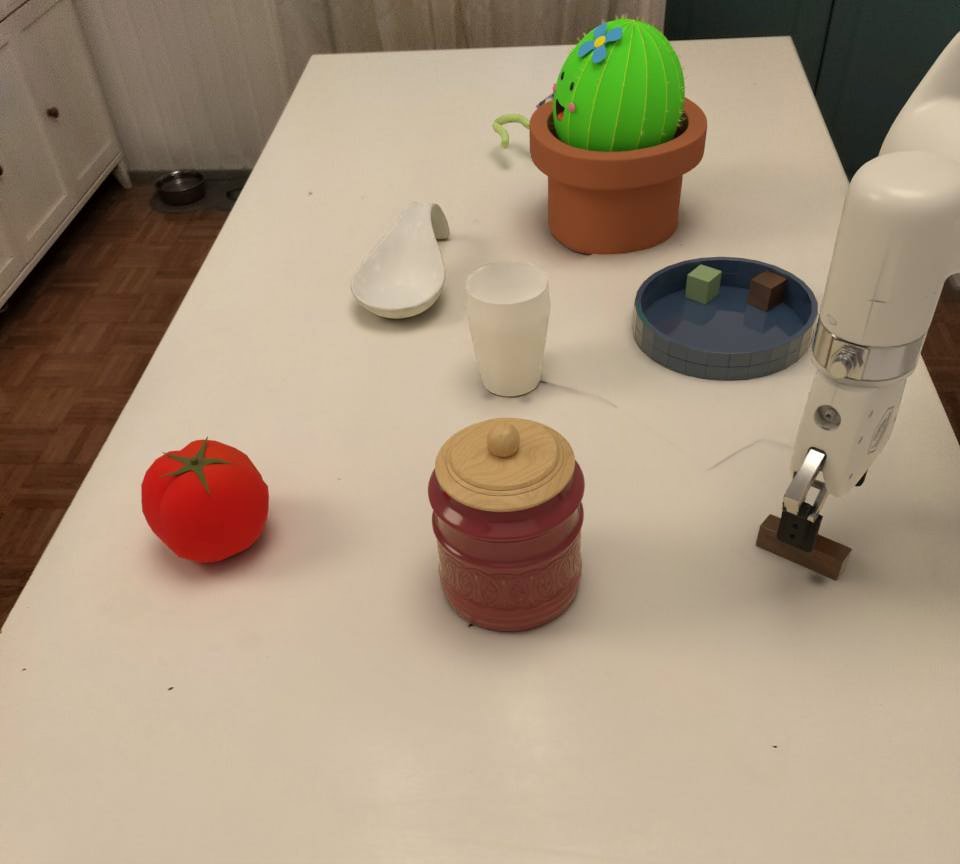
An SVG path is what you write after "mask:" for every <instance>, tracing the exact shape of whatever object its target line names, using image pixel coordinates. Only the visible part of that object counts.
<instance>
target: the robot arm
mask: <svg viewBox="0 0 960 864" xmlns="http://www.w3.org/2000/svg"><path fill="white" fill-rule="evenodd" d="M897 114H898V115H896V118H895V119H894V122H893V123H892V124H891V126H890V128H889V130H888V132H887V133H886V136H885V137H884V140H883V142H882V144H881V148H880V150H879V152H878V155H877V156H876V157H874V158H872V159H871V160H869V161H867V162H865V163H864V164H863V165H861V166H860V168H859V169H857V170H856V172H855V174H854V175H853V177H852V178H851V181H850V182H849V183H848V187H847V190H846V193H845V194H846V195H845V198H844V201H843V206H842V211H841V215H840V219H839V224H838V229H837V233H836V238H835V242H834V247H833V251H832V255H831V260H830V265H829V269H828V274H827V279H826V283H825V287H824V291H823V296H822V300H821V304H820V309H819V312H818V317H817V321H816V325H815V326H816V327H815V330H814V334H813V340H812V344H811V349H810V359H811V362H812V365H813V366H814V367H815V369H816V371H815V374H814V376H813V380H812V383H811V386H810V388H809V391H808V394H807V398H806V402H805V405H804V409H803V412H802V415H801V419H800V422H799V426H798V430H797V433H796V437H795V441H794V444H793V449H792V454H791V457H790V458H791V459H790V463H789V476H790V478H791V479H792V480H791V482H790V483H789V485H788V487H787V489H786V491H785V493H784V494H783V498H782V500H783V501H782V503H781V515H780V518H781V519H780V523H779V527H778V532H777V539H778V540H779V541H782V542H784V543H786V544H789V545H791V546H793V547H796V548H798V549H800V550H803V551H805V552H811V551H812V550H813V548H814V546H815V543H816V539H817V536H818V534H819V532H820V528H821V525H822V521H823V517H824V515H822V514H820V513H821V511H822V509H823V507H824V505H825V503H826V501H827V499H828V497H829V495H831V496H833V497H835V498H841V497H844V496H846V495H848V494H849V493H850V492H851V491H852V490H853V489H854V487H861V486H862V485H863V483H864V482H865V480H866V477H867V474H868V471H869V468H871V466H872V464H873V463H874V462H875V460H876V459H877V458H878V457H879V455H880V454H881V453H882V451H883V450H884V448H885V447H886V446H887V444H888V442H889V440H890V438H891V436H892V433H893V430H894V427H895V424H896V421H897V417H898V413H899V410H900V406H901V402H902V398H903V394H904V391H905V387H906V383H907V381H908V378H909V377H911V375H912V374H913V373H914V372H915V370H916V369H917V366H918V363H919V359H920V357H921V354H922V350H923V347H924V344H925V341H926V338H927V336H928V332H929V331H930V330H929V329H930V327H931V324H932V321H933V318H934V315H935V312H936V309H937V306H938V302H939V300H940V297H941V294H942V291H943V288H944V284H945V282H946V281H947V279H948V278H949V277H950V276H952V275H955V274H960V30H959V31H958V32H957V33H956V34H955V36H954V37H953V38H952V39H951V40H950V42H949V43H947V45H946V47H944V49H943V51H942V52H941V53H939V55H938V57H937V58H936V60H935V61H934V63H933V64H932V65H931V66H930V67H929V69H928V70H927V72H926V73H925V75H924V76H923V78H922V80H921V81H920V82H919V83H918V85H917V86H916V87H915V89H914V91H912V93H911V95H910V97H909V98H908V99H907V101H906V102H905V104H904V106H903V107H902V108H901V110H900V111H899V113H897ZM820 472H821V473H822V477H823V481H821V480H819V479H816V478H817V477H818V476H819V473H820ZM811 487H812V488H814V489H816V490H819V492H818V494H817V496H816V498H815V500H814V502H813V504H810V503H809V502H807V501H806V500H807V495H808V493H809V491H810V489H811Z"/></svg>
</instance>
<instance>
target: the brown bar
mask: <svg viewBox="0 0 960 864" xmlns="http://www.w3.org/2000/svg"><path fill="white" fill-rule="evenodd" d="M780 519H781V517H779V516H777V515H774V514H772V513H769V514H768V515H767V516H766V518H765V519H764V520H763V521H762V522H761V524H760V525H759V527H758V532H757V536H756V539H755V546H757V547H760V548H761V549H763V550H766V551H769V552H771V553H773V554H774V555H778V556H780V557H782V558H784V559H786V560H789V561H791V562H794V563H796V564H797V565H800V566H803V567H805V568H806V569H809V570H812V571H813V572H816V573H818V574H821V575H823V576H825V577H827V578H830V579H832V580H834V581H837V580H838V579H839V578H840V577H841V575H842V574H843V572H844V571H845V570H846V569H847V565H848V563H849V560H850V557H851V554H852V551H853V548H852V547H850V546H847V545H845V544H844V543H841V542H838V541H836V540H833V539H831V538H828V537H826V536H824V535H822V534H819V533H818V536H817V539H816V543H815V546H814V548H813V550H812V551H811V552H805V551H803V550H800V549H798V548H796V547H793V546H791V545H789V544H786V543H784V542H782V541H779V540H778V539H777V532H778V527H779V523H780Z"/></svg>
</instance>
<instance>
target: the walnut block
mask: <svg viewBox="0 0 960 864" xmlns="http://www.w3.org/2000/svg"><path fill="white" fill-rule="evenodd" d="M786 283H787V279H786V278H784V277H782V276H779V275H777V274H775V273H772V272H770V271H768V270H766V271H765V272H763V273H761V274H760V275H758V276H756V277H755V278H753V279H751V283H750V288H749V294H748V299H747V303H749V304H751V305H753V306H755V307H757V308H760V309H762V310H764V311H766V312H767V311H769V310H771V309H772V308H774V307H775V306H777V305H779V304H780V303H782V302H783V297H784V292H785V288H786Z"/></svg>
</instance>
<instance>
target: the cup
mask: <svg viewBox="0 0 960 864" xmlns="http://www.w3.org/2000/svg"><path fill="white" fill-rule="evenodd" d="M549 281H550V280H549V275H548V274H547V272H546V271H545V270H544V269H543V268H542V267H541V266H538V265H536V264H533V263H531V262H528V261H522V260H499V261H494V262H490V263H487V264H484V265H482V266H480V267H478V268H475V270H473V271H472V272H470V274H469V275H468V277H466V280H465V314H466V318H467V324H468V328H469V332H470V337H471V341H472V344H473V348H474V354H475V357H476V360H477V366H478V370H479V373H480V378H481V383H482V385H483V387H484V388H485V390H487V391H488V392H489V393H491V394H494V395H497V396H502V397H518V396H523V395H526V394H528V393H529V392H532V391H533V390H534V389H535V388H537V386H539V384H540V381H541V376H542V369H543V363H544V355H545V348H546V342H547V336H548V328H549V321H550V316H551V315H550V314H551V296H550V282H549Z"/></svg>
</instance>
